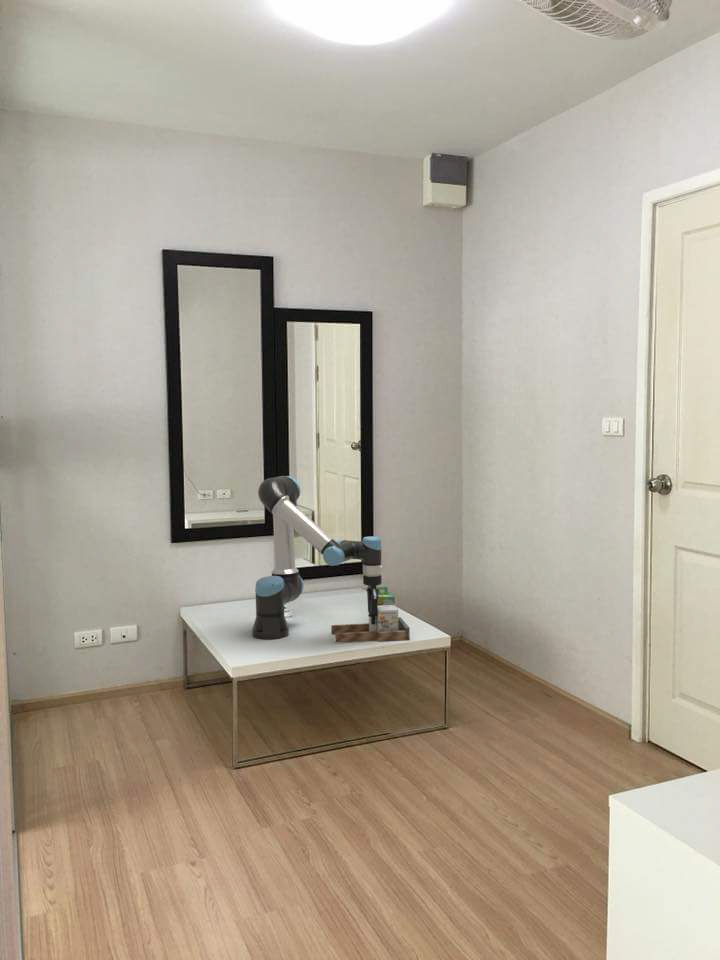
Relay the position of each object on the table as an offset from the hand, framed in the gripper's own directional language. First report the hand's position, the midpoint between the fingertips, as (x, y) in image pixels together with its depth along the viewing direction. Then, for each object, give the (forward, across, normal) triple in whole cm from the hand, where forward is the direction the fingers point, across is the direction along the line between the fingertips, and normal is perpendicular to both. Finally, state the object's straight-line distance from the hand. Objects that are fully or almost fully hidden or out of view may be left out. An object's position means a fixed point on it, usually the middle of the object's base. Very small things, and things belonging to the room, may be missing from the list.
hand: (372, 631), depth 335 cm
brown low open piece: (+2, 0, +1) cm, 2 cm away
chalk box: (+2, +24, -9) cm, 25 cm away
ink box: (+2, 0, -6) cm, 6 cm away
